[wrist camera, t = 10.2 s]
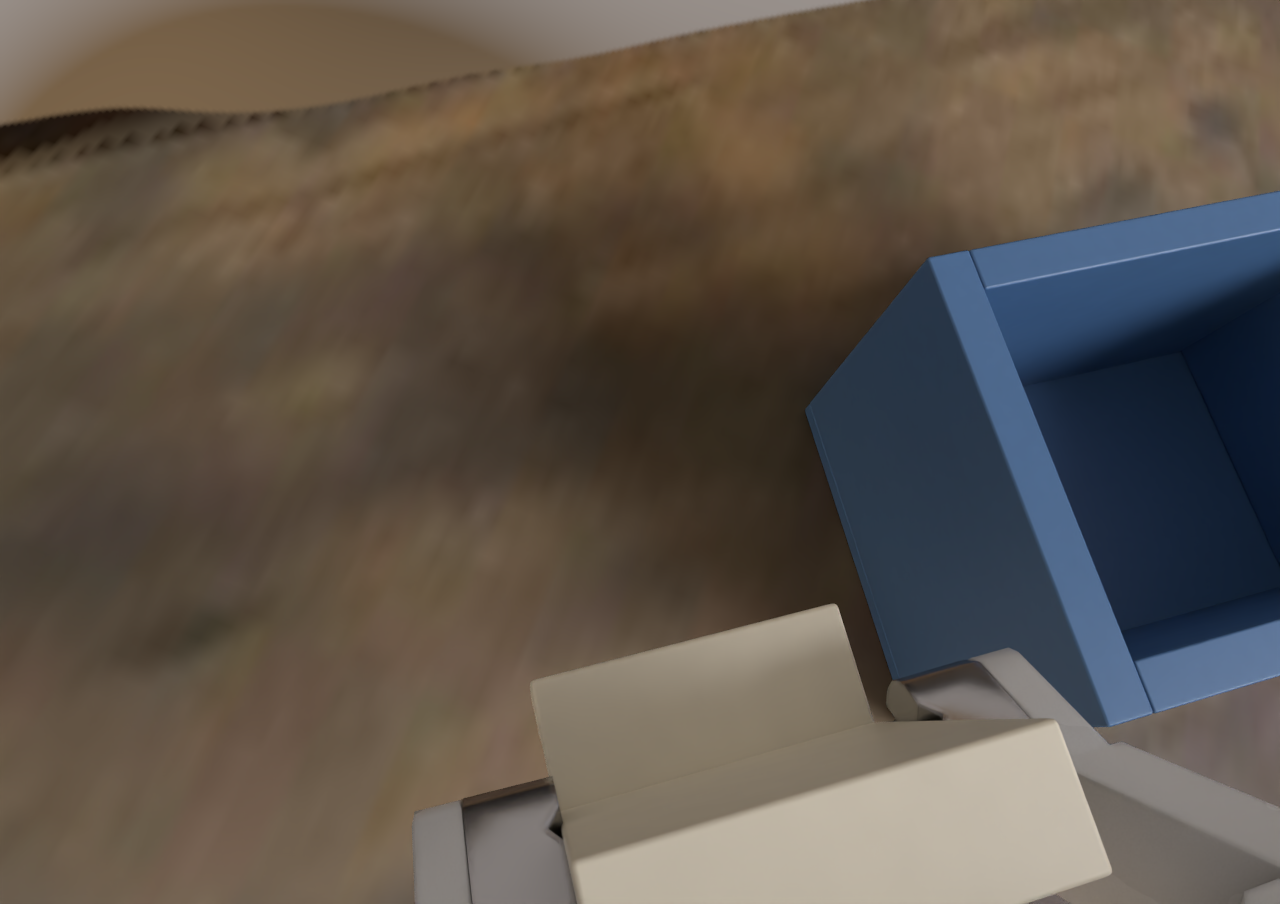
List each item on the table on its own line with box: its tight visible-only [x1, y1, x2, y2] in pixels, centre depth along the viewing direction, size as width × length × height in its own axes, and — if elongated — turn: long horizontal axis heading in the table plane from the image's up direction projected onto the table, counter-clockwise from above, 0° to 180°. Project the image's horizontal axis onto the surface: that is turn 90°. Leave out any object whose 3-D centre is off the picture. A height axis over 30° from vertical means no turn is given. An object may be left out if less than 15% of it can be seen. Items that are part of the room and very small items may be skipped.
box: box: [805, 191, 1280, 727], centre depth 23 cm, size 14×10×10 cm
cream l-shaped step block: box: [530, 604, 1112, 904], centre depth 12 cm, size 4×4×11 cm
